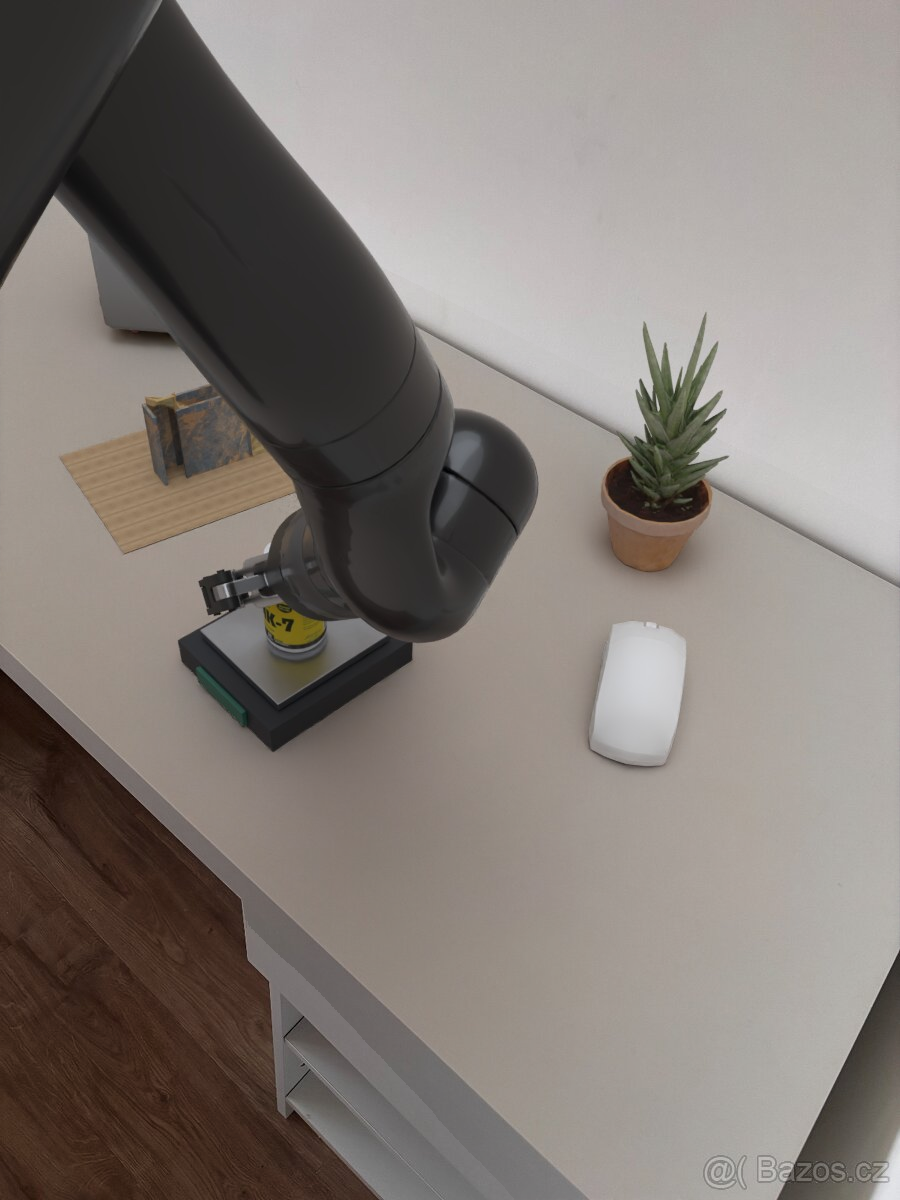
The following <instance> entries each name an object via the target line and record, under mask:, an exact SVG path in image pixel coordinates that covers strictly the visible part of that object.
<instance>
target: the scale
mask: <svg viewBox="0 0 900 1200" xmlns="http://www.w3.org/2000/svg"><path fill="white" fill-rule="evenodd" d="M237 609H238V607H237V608H236V610H237ZM232 612H233V611H232ZM230 613H231V612H228V611H226V612H225V613H224V614H221V615H219V617H217V618H215V619H213V620H211V621H209V622H207V623H206V624H204V625H202V626H201V627H199V628H197V629H195V630H193V631H192V632H190V633H188V634H186V635H185V636H183V637H181V638H179V639H178V640H177V644H178V649H179V653H180V654H179V655H180V661H181V663H183V665H184V666H186V667H187V668H188V669H189V671H191V672H192V673H193V675H195V676H196V677H197V682H198V683H199V684H200V685H201V686H202V687H203V688H204V689H205V690H206V691H207V692H208V693H209V694H210V696H212V697H213V698H214V699H215V700H216V701H217V702H218V703H219V704H220V705H221V706H222V708H224V709H225V710H226V711H227V712H228V713H229V714H230V715H231V716H232V717H233V718H234V719H235V720H236V722H238V723H239V724H240V725H241V726H242V727H243V728H245V727H247V728H248V729H249V730H250V731H251V732H252V733H253V734H254V735H256V737H257V738H258V739H259V740H260V741H261V742H262V743H263V744H264V745H265V746H266V747H267V748H268V749H269V750H270V751H271V752H275V751H276V750H278V749H279V748H281V747H282V746H284V745H285V744H287V743H288V742H290V741H292V740H293V739H295V738H296V737H298V736H299V735H300V734H302V733H304V732H305V731H307V730H309V729H310V728H311V727H313V726H314V725H316V724H317V723H318V722H321V721H322V720H323V719H325V718H326V717H328V716H330V715H331V714H332V713H334V712H335V711H337V710H339V709H340V708H342V707H343V706H345V705H346V704H348V703H349V702H351V701H352V700H354V699H355V698H357V697H358V696H360V695H361V694H363V693H364V692H366V691H367V690H369V689H370V688H372V687H373V686H375V685H377V684H378V683H380V682H381V681H382V680H384V679H386V678H387V677H389V676H390V675H392V674H393V673H395V672H396V671H397V670H399V669H401V668H403V667H404V666H405V665H407V664H408V663H410V662H412V661H413V652H414V650H413V649H414V643H411V642H405V641H401V640H397V639H394V638H392V637H390V640H389V641H387V642H386V643H384V644H383V645H381V646H380V647H378V648H376V649H375V650H373V651H372V652H370V653H369V654H367V655H365V656H364V657H362V658H361V659H359V660H358V661H356V662H354V663H353V664H351V665H350V666H348V667H347V668H345V669H343V670H342V671H340V672H339V673H337V674H336V675H334V676H332V677H331V678H329V679H328V680H326V681H325V682H323V683H321V684H320V685H318V686H317V687H315V688H313V689H312V690H310V691H309V692H307V693H306V694H304V695H302V696H301V697H299V698H298V699H296V700H295V701H293V702H291V703H290V704H288V705H287V706H285V707H284V708H282V709H280V710H277V709H276V708H275V707H274V706H273V705H272V704H271V703H270V702H269V701H268V700H267V699H266V698H265V697H264V696H263V695H262V694H260V693H259V692H258V691H257V690H256V689H255V688H254V687H253V686H252V685H251V684H250V683H249V682H248V681H247V680H246V679H245V678H244V677H243V676H242V675H241V674H240V673H239V672H238V671H236V670H235V669H234V668H233V667H232V666H231V665H230V664H229V663H228V662H227V661H226V660H225V659H224V658H223V657H222V656H221V655H220V654H219V653H218V652H217V651H216V650H215V649H214V648H212V647H211V646H210V645H209V644H208V643H207V642H206V641H205V640H204V639H203V638H202V637H201V633H200V630H201V629H203V628H205V627H206V626H208V625H210V624H212V623H214V622H215V621H217V620H219V619H221V618H222V617H224V616H226V615H228V614H230Z"/></svg>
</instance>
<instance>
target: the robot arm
mask: <svg viewBox="0 0 900 1200" xmlns="http://www.w3.org/2000/svg"><path fill="white" fill-rule="evenodd" d="M53 198H55V199H56V201H58V202H59V203H60V204H61V205H62V206H63V207H64V209H65V210H66V211H67V212H68V214H70V215H71V217H72V218H73V219H74V220H75V222H76V223H77V224H78V225H79V226H80V227H81V228H82V229H83V231H84V232H85V233H86V235H87V234H88V235H89V236H90V237H91V239H92V240H93V241H94V242H95V243H96V244H97V246H98V247H99V248H100V249H101V250H102V251H103V253H104V254H105V255H106V256H107V258H108V259H109V260H110V261H111V262H112V264H113V265H114V266H115V267H116V268H117V270H118V271H119V272H120V273H121V275H122V276H123V277H124V278H125V279H126V281H127V282H128V283H129V284H130V286H131V287H132V288H133V289H134V290H135V292H136V293H137V294H138V295H139V297H140V298H141V299H142V300H143V302H144V303H145V304H146V305H147V307H148V308H149V309H150V310H151V312H152V313H153V314H154V315H155V316H156V318H157V319H158V320H159V321H160V323H161V324H162V325H163V326H164V328H165V329H166V330H167V331H168V332H167V333H168V334H169V335H170V337H171V338H172V339H173V340H174V342H175V343H176V344H177V346H178V347H179V348H180V350H182V352H183V353H184V354H185V355H186V357H188V358H187V359H189V360H190V362H191V363H192V365H194V367H195V368H196V369H197V370H198V372H199V373H200V374H201V375H202V377H203V378H204V379H205V380H206V381H207V383H208V384H210V385H211V386H212V387H213V388H214V390H215V391H216V392H217V393H218V394H219V396H220V397H221V398H222V399H223V400H224V402H225V403H226V404H227V405H228V407H229V408H230V409H231V410H232V411H233V413H234V414H235V415H236V416H237V417H238V419H239V420H240V421H241V422H242V424H243V425H244V426H245V427H246V428H247V429H248V430H249V431H250V433H251V434H252V435H253V436H254V437H255V438H256V439H257V441H258V442H259V443H260V444H261V445H262V446H263V447H264V449H265V450H266V451H267V452H268V453H269V454H270V455H271V457H272V458H273V459H274V460H275V461H276V462H277V463H278V465H279V466H280V467H281V468H282V469H283V471H284V472H285V473H286V474H287V475H288V476H289V477H290V478H291V480H292V482H293V485H294V488H295V492H294V493H295V494H296V495H295V496H296V498H297V500H298V502H299V505H300V508H298V509H296V510H295V511H294V512H292V513H291V514H289V515H288V516H287V517H286V518H285V519H284V520H283V521H282V523H280V525H279V526H278V528H277V529H276V531H275V533H274V535H273V537H272V538H271V541H272V542H271V541H270V542H271V545H270V549H269V552H268V553H265V554H263V553H262V554H259V555H255V556H253V557H250V558H246V559H245V560H244V561H243V564H242V567H241V568H239V569H236V570H235V569H234V568H233V569H228V570H225V568H222V569H219V570H216V573H213V574H211V575H207V576H203V577H202V578H201V579H199V580H198V581H197V582H198V586H199V588H200V589H201V593H202V596H203V600H204V603H205V606H206V612H207V615H208V616H212V615H213V617H216V616H221V615H222V613H223V612H232V611H236V608H237V607H238V609H241V608H245V605H247V604H251V603H253V604H254V605H255V606H256V607H257V608H264V607H268V606H271V605H275V604H279V603H282V602H285V603H286V604H287V605H288V606H289V607H290V608H291V609H293V610H294V611H296V612H297V613H299V614H301V615H302V616H305V617H307V618H310V619H313V620H318V621H340V620H348V619H356V618H361V619H362V620H363V621H364V622H366V623H367V624H368V625H370V626H371V627H372V628H374V629H376V630H377V631H379V632H381V633H383V634H385V635H387V636H389V637H392V638H394V639H397V640H401V641H405V642H411V643H413V644H427V643H434V642H438V641H441V640H444V639H446V638H449V637H451V636H453V635H455V634H456V633H458V632H459V631H460V630H461V629H463V628H464V627H465V626H466V625H467V623H469V621H470V620H471V619H472V617H473V616H474V615H475V613H476V612H477V611H478V609H479V607H480V605H481V604H482V602H483V600H484V598H485V597H486V595H487V593H488V591H489V590H490V588H491V586H492V584H493V583H494V581H495V579H496V578H497V576H498V574H499V573H500V570H501V568H502V567H503V565H504V564H505V562H506V560H507V558H508V556H509V555H510V553H511V551H512V550H513V547H514V546H515V544H516V542H517V541H518V540H519V538H520V536H521V534H522V533H523V532H524V530H525V528H526V526H527V524H528V522H529V521H530V519H531V517H532V515H533V512H534V510H535V507H536V505H537V500H538V496H539V476H538V470H537V466H536V462H535V460H534V457H533V455H532V454H531V452H530V450H529V448H528V446H527V445H526V444H525V442H524V441H523V440H522V439H521V437H520V436H519V435H518V434H517V433H516V432H515V431H514V430H513V429H512V428H510V427H509V426H508V425H507V424H505V423H504V422H502V421H501V420H499V419H497V418H495V417H493V416H491V415H489V414H486V413H483V412H481V411H477V410H473V409H468V408H462V407H455V404H454V401H453V398H452V395H451V391H450V388H449V386H448V384H447V381H446V380H445V378H444V376H443V374H442V372H441V370H440V368H439V366H438V364H437V363H436V360H435V359H434V357H433V355H432V353H431V351H430V349H429V348H428V346H427V344H426V342H425V341H424V338H423V336H422V335H421V333H420V331H419V329H418V328H417V326H416V324H415V322H414V320H413V319H412V317H411V315H410V314H409V311H408V310H407V308H406V306H405V305H404V303H403V301H402V300H401V298H400V296H399V295H398V293H397V291H396V290H395V288H394V286H393V285H392V283H391V282H390V280H389V278H388V276H387V275H386V273H385V272H384V270H383V269H382V267H381V266H380V264H379V263H378V261H377V260H376V258H375V257H374V256H373V254H372V253H371V251H370V249H369V248H368V247H367V246H366V244H365V243H364V242H363V240H362V239H361V238H360V236H359V235H358V234H357V232H356V231H355V230H354V228H353V227H352V226H351V225H350V224H349V222H348V221H347V220H346V218H345V217H344V216H343V215H342V213H341V212H340V211H339V210H338V208H337V207H336V206H335V205H334V204H333V202H332V201H331V200H330V199H329V198H328V197H327V195H326V194H325V193H324V192H323V191H322V190H321V188H320V187H319V186H318V185H317V183H315V181H314V180H313V179H312V178H311V177H310V175H309V174H308V173H307V172H306V170H304V168H303V167H302V166H301V165H300V163H298V161H297V160H296V159H295V158H294V156H292V154H291V153H290V152H289V151H288V150H287V148H286V147H285V146H284V145H283V143H282V142H281V141H280V140H279V138H278V137H277V136H276V135H275V134H274V133H273V131H272V130H271V129H270V127H269V126H268V125H267V124H266V123H265V121H264V120H263V119H262V118H261V117H260V115H259V114H258V113H257V111H255V109H254V108H253V107H252V105H251V104H250V103H249V101H248V99H246V98H245V96H244V95H243V94H242V92H241V91H240V90H239V88H238V87H237V86H236V84H235V83H234V82H233V80H232V79H231V77H229V75H228V73H226V71H225V70H224V69H223V67H222V66H221V64H220V63H219V61H218V60H217V58H216V57H215V56H214V54H213V53H212V51H211V50H210V49H209V47H208V45H207V44H206V43H205V41H204V40H203V39H202V37H201V35H199V33H198V31H197V30H196V29H195V27H194V26H193V24H192V22H191V21H190V19H189V18H188V16H187V15H186V13H185V12H184V10H183V8H182V7H181V6H180V4H179V2H178V1H177V0H0V290H1V289H2V287H3V285H4V283H5V282H6V280H7V278H8V276H9V274H10V273H11V271H12V269H13V267H14V265H15V263H16V262H17V260H18V258H19V256H20V254H21V252H22V251H23V250H24V248H25V246H26V244H27V242H28V241H29V239H30V237H31V235H32V234H33V232H34V230H35V229H36V226H37V225H38V223H39V221H40V219H41V218H42V216H43V214H44V212H45V211H46V209H47V207H48V206H49V204H50V202H51V200H52V199H53ZM88 235H87V236H88ZM244 576H245V577H244ZM249 593H250V594H249Z"/></svg>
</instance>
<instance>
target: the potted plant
mask: <svg viewBox="0 0 900 1200" xmlns="http://www.w3.org/2000/svg"><path fill="white" fill-rule="evenodd" d="M707 314H708V312H707V311H705V312H704V314H703V317H702V320H701V323H700V327H699V329H698V333H697V337H696V340H695V343H694V346H693V350H692V353H691V355H690V359H689V361H688V364H687V367H686V371H685V374H684V377H683V380H682V376H683V366H681V367H680V371H679V373H678V377H677V381H676V385H675V387H674V385H673V378H672V371H671V363H670V358H669V350H668V347H667V346H668V344H667V342H666V341H664V343H663V349H662V355H661V363H660V364H661V365H659V362H658V361H659V360H658V358H657V354H656V352H655V349H654V346H653V343H652V340H651V337H650V334H649V333H650V332H649V331H648V326H647V323H646V322H645V320H643V324H642V337H643V344H644V349H645V354H646V359H647V365H648V369H649V373H650V378H651V381H652V393H651V395H652V397H651V395H650V394H649V392H648V390H647V388H646V386H645V384H644V381H643V379H642V378H639V379H638V385H639V390H640V392H639V391H638V389H637V388H636V389H635V391H634V392H635V397H636V400H637V404H638V407H639V410H640V413H641V415H642V417H643V419H644V421H645V423H643V427H644V428H643V429H644V436H645V441H644V440H643V439H641V438H640V437H638V436H637V435H634V436H633V440H634V441H635V444H633V443H632V442H630V441H629V440H628V439H627V438H626V436H624V435H623V433H621V432H620V431H619V430H616V431H615V433H616V434H617V436H618V438H619V440H620V441H621V442H622V444H623V445H624V447H625V448H626V449H627V451H628V452H630V456H626V457H623V458H621V459H618V460H617V461H615V462H613V464H611V465H610V466H609V467H607V469H606V471H605V473H604V475H603V477H602V482H601V487H600V498H601V499H600V500H601V504H602V507H603V508H604V510H605V512H606V516H607V522H608V528H609V536H610V542H611V548H612V552H613V554H614V555H615V557H616V558H617V559H618V560H619V561H621V563H623V564H624V565H625V566H628V567H630V568H633V569H635V570H638V571H642V572H648V573H649V572H650V573H651V572H658V571H659V572H660V571H663V570H665V569H668V567H669V566H671V565H672V564H673V562H674V561H675V560H676V558H677V557H678V555H679V554H680V552H681V550H682V549H683V547H684V546H685V545H686V543H687V542H688V541H689V539H690V538H691V536H692V535H693V533H694V532H695V530H697V529H698V528H700V527H701V526H702V525H703V523H704V522H705V521H706V520H707V519H708V517H709V514H710V511H711V507H712V502H713V495H714V494H713V490H712V487H711V484H710V482H709V481H708V480H707V479H706V478H705V477H706V475H707V473H709V472H710V471H711V470H712V469H714V468H715V467H717V466H718V465H719V463H720V462H722V461H724V460H727V459H729V457H730V455H724V456H721V457H716V458H713V459H708V460H703V461H699V462H696V463H692V462H694V460H696V458H698V456H699V455H700V451H699V450H700V448H702V447H703V446H704V445H705V444H706V443H707V442H708V441H710V439H711V438H712V437H713V436H714V435H715V434H716V433H717V431H718V427H716V426H717V425H718V423H719V422H720V420H722V419H723V418H724V416H725V415H726V413H727V411H728V409H727V407H726V408H724V409H722V410H721V411H720V412H718V413H716V414H715V415H712V416H711V417H709V416H710V414H711V413H712V411H713V410H714V409H715V408H716V406H717V404H718V403H719V402H720V399H721V397H722V395H723V394H724V390H723V389H721V390H720V391H718V392H717V393H716V394H715V395H714V396H713V397H712V398H711V399H710V400H709V401H707V403H704V405H702V406H700V407H699V408H698V409H694V408H695V405H696V403H697V401H698V398H699V396H700V393H702V389H703V387H704V385H705V383H706V380H707V378H708V375H709V373H710V370H711V368H712V365H713V363H714V361H715V358H716V355H717V352H718V347H719V341H718V340H716V342H715V344H714V345H713V346H712V348H711V349H710V351H709V353H708V355H707V356H706V358H705V359H704V360H703V362H702V364H701V365H700V367H699V368H698V371H697V373H696V374H695V372H696V369H697V365H698V361H699V357H700V354H701V350H702V346H703V342H704V336H705V332H706V325H707V317H708V316H707ZM657 403H658V404H657ZM658 407H659V409H658ZM708 417H709V418H708ZM707 418H708V419H707Z"/></svg>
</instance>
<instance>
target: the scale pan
mask: <svg viewBox="0 0 900 1200" xmlns="http://www.w3.org/2000/svg"><path fill="white" fill-rule="evenodd" d="M200 633H201V637H202V638H203V639H204V640H205V641H206V642H207V643H208V644H209V645H210V646H211V647H212V648H214V649H215V650H216V651H217V652H218V653H219V654H220V655H221V656H222V657H223V658H224V659H225V660H226V661H227V662H228V663H229V664H230V665H231V666H232V667H233V668H234V669H235V670H236V671H238V672H239V673H240V674H241V675H242V676H243V677H244V678H245V679H246V680H247V681H248V682H249V683H250V684H251V685H252V686H253V687H254V688H255V689H256V690H257V691H258V692H259V693H260V694H262V695H263V696H264V697H265V698H266V699H267V700H268V701H269V702H270V703H271V704H272V705H273V706H274V707H275V708H276V709H277V710H280V709H282V708H284V707H285V706H287V705H288V704H290V703H291V702H293V701H295V700H296V699H298V698H299V697H301V696H302V695H304V694H306V693H307V692H309V691H310V690H312V689H313V688H315V687H317V686H318V685H320V684H321V683H323V682H325V681H326V680H328V679H329V678H331V677H332V676H334V675H336V674H337V673H339V672H340V671H342V670H343V669H345V668H347V667H348V666H350V665H351V664H353V663H354V662H356V661H358V660H359V659H361V658H362V657H364V656H365V655H367V654H369V653H370V652H372V651H373V650H375V649H376V648H378V647H380V646H381V645H383V644H384V643H386V642H387V641H389V640H390V637H389V636H387V635H385V634H383V633H381V632H379V631H377V630H376V629H374V628H372V627H371V626H370V625H368V624H367V623H366V622H364V621H363V620H362V619H361V618H356V619H348V620H340V621H327V630H326V635H325V637H324V639H323V640H322V641H321V642H320V643H319V644H318V645H317V646H316V647H314V648H312V649H310V650H307V651H304V652H297V653H293V652H287V651H283V650H281V649H278V648H277V647H275V646H274V645H272V644H271V643H270V641H269V640H268V638H267V636H266V631H265V622H264V613H263V608H257V607H256V606H255V605H254V604H253V603H251V604H247V605H245V608H241V609H237V610H236V611H233V612H231V613H230V614H228V615H226V616H224V617H222V618H221V619H219V620H217V621H215V622H214V623H212V624H210V625H208V626H206V627H205V628H203V629H201V630H200Z"/></svg>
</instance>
